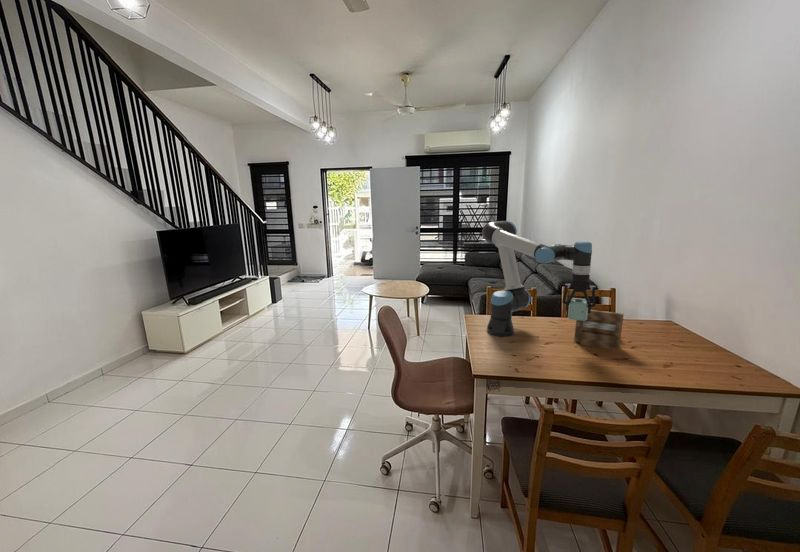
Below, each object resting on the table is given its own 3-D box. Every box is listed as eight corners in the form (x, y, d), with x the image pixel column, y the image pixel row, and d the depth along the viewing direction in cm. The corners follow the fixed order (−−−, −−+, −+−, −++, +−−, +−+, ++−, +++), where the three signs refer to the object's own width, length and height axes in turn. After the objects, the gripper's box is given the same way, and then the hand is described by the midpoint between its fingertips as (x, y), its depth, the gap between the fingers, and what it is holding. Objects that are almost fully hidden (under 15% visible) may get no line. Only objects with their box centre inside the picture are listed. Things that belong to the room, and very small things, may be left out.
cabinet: (569, 319, 159) (570, 299, 157) (569, 314, 166) (571, 295, 164) (585, 321, 156) (586, 301, 153) (585, 316, 163) (586, 297, 161)
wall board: (574, 343, 167) (577, 311, 163) (574, 337, 174) (577, 306, 170) (619, 350, 158) (624, 316, 154) (618, 344, 165) (622, 311, 161)
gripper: (557, 273, 157) (554, 317, 162) (605, 276, 147) (600, 323, 152) (558, 270, 163) (556, 313, 168) (604, 273, 154) (600, 318, 158)
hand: (577, 318), depth 160 cm, fingers closed on cabinet, 7 cm apart
